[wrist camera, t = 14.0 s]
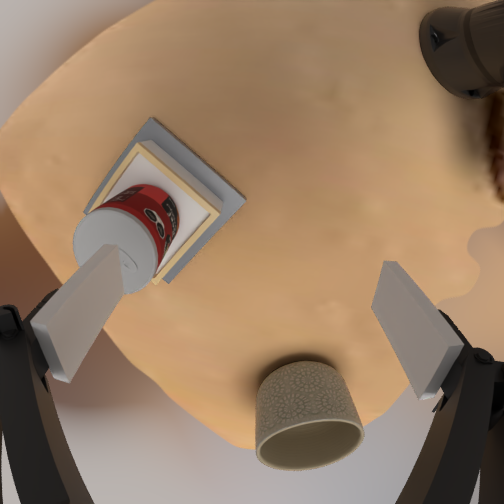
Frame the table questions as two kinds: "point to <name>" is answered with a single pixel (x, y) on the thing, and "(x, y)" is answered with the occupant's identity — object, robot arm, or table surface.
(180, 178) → the base
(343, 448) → the planter
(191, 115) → the table surface
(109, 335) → the table surface
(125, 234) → the canned food
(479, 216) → the table surface
